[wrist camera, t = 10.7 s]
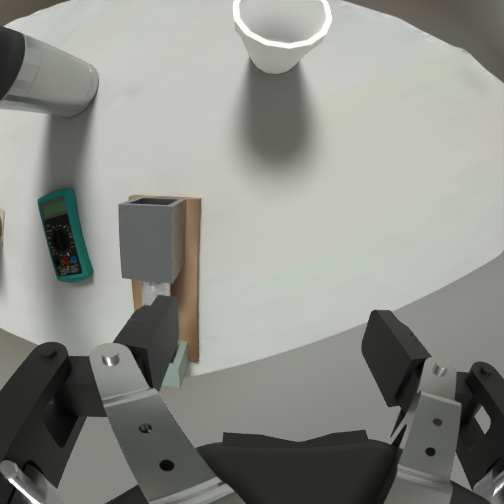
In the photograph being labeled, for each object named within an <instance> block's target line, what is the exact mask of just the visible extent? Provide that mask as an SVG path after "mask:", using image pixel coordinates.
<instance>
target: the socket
mask: <svg viewBox="0 0 504 504" xmlns="http://www.w3.org/2000/svg"><path fill="white" fill-rule="evenodd" d="M174 358H175V360H174V362H173V364H172V363H170V364H169V367H168V369H167V372H166V375H165V377H164V380H163V383H162V385H161V386H167V387H173V388H180V387H181V384H182V381H183V377H184V374H185V371H186V367H187V364H188V342H186V341H178V343H177V346H176V348H175V351H174Z"/></svg>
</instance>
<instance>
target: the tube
mask: <svg viewBox="0 0 504 504" xmlns="http://www.w3.org/2000/svg"><path fill="white" fill-rule="evenodd" d="M140 281H141V295H142V306H144V305H149V306H151V304H152V303H153V301H154V300H155V298H156V297H157V296H158V295H165V296H171V291H170V283H161V282H152V281H144V280H140ZM174 360H175V358H174V354H173V356H172V359H171V361H170V363H172V364H173V362H174Z"/></svg>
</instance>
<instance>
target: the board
mask: <svg viewBox="0 0 504 504" xmlns="http://www.w3.org/2000/svg"><path fill="white" fill-rule="evenodd" d="M138 197H154V198H177V199H186V223H185V265H184V266H183V268H182V270H181V271H180V273H179V274H178V276H177V277H176V279H175V280H174V282H173V284H170V291H171V296H174V297H177V301H178V323H179V337H178V341H186V342H188V361H194V362H197V361H198V358H199V340H198V278H199V237H200V213H201V198H187V197H167V196H139V195H132V196H129V201H130V200H132V199H135V198H138ZM132 289H133V300H134V309H135V311H136V310H137V309H139V308H141V307H142V295H141V281H140V280H135V279H132Z"/></svg>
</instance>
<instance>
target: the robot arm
mask: <svg viewBox="0 0 504 504" xmlns="http://www.w3.org/2000/svg"><path fill="white" fill-rule="evenodd" d="M97 87H98V73H97V71H96V69H95V68H94V66H92V65H91V64H89V63H87V62H85V61H83V60H81V59H79V58H77V57H75V56H73V55H71V54H69V53H67V52H64V51H62V50H60V49H58V48H56V47H53V46H51V45H49V44H47V43H44V42H42V41H40V40H37V39H35V38H32V37H30V36H27V35H25V34H22V33H20V32H17V31H15V30H12V29H9V28H5V27H2V26H0V109H8V110H19V111H28V112H36V113H44V114H51V115H57V116H64V117H72V116H75V115H77V114H79V113H81V112H82V111H83V110H84V109H85V108H86V107H87V106H88V105H89V104H90V103H91V101H92V99H93V98H94V96H95V93H96V91H97ZM178 337H179V323H178V301H177V297H174V296H165V295H158V296H157V297H156V298H155V300H154V301H153V303H152V304H151V306H149V305H144V306H142V307H141V308H139V309H137V310H136V311H135V312H134V313H133V315H132V316H131V317H130V319H129V320H128V322H127V323H126V325H125V326H124V327H123V329H122V330H121V331H120V333H119V334H118V336H117V337H116V338H115V340H114V341H113V343H107V344H102V345H100V346H98V347H96V348H95V349H94V350H93V351H92V352H91V354H90V356H69V355H68V352H67V349H66V347H65V346H64V345H62V344H60V343H57V342H47V343H43V344H41V345H39V346H37V347H36V348H35V349H34V350H33V351H32V352H31V353H30V355H29V356H28V357H27V358H26V359H25V361H24V362H23V363H22V364H21V365H20V367H19V368H18V369H17V370H16V372H15V373H14V374H13V375H12V377H11V378H10V379H9V381H8V382H7V383H6V384H5V386H4V387H3V388H2V390H1V391H0V504H64V500H63V497H62V496H61V494H60V493H59V491H58V490H57V488H58V485H59V482H60V480H61V477H62V474H63V472H64V469H65V466H66V464H67V462H68V459H69V457H70V454H71V452H72V450H73V447H74V445H75V443H76V440H77V438H78V436H79V433H80V431H81V429H82V427H83V424H84V422H85V420H86V418H87V416H89V417H92V416H93V417H108V419H109V422H110V424H111V427H112V429H113V432H114V434H115V437H116V439H117V441H118V444H119V446H120V448H121V450H122V453H123V455H124V457H125V459H126V461H127V463H128V465H129V468H130V469H131V471H132V474H133V476H134V477H135V479H136V481H137V483H138V485H136V486H135V487H133V488H131V489H130V490H128V491H126V492H125V493H123V494H121V495H119V496H118V497H116V498H114V499H113V500H111V501H109V502H107V503H106V504H504V379H503V378H502V376H501V375H500V374H499V373H498V372H497V370H496V369H495V368H494V367H492V366H491V365H490V364H488V363H485V362H476V363H474V364H473V365H472V367H471V369H470V371H469V373H466V372H457V371H456V368H455V367H454V365H453V364H452V363H451V362H449V361H448V360H446V359H444V358H440V357H432V356H431V355H430V354H429V353H428V351H427V350H426V349H425V347H424V346H423V345H422V344H421V342H420V341H418V339H417V337H416V336H415V335H414V334H413V332H412V331H411V330H410V329H409V328H408V327H407V326H406V325H404V324H403V323H401V322H400V321H399V320H398V319H397V318H396V317H395V316H394V314H393V313H392V312H391V311H390V310H373V311H372V312H371V314H370V317H369V321H368V324H367V327H366V331H365V334H364V337H363V340H362V347H361V348H362V354H363V357H364V358H365V360H366V362H367V364H368V366H369V368H370V371H371V373H372V374H373V377H374V379H375V380H376V383H377V385H378V387H379V389H380V391H381V393H382V395H383V397H384V400H385V401H386V403H387V406H388V407H392V406H400V407H401V409H400V410H399V412H398V414H397V416H396V419H395V421H394V424H393V427H392V429H391V432H390V434H389V436H388V438H387V441H386V443H385V442H381V441H377V440H371V439H368V437H367V434H366V431H365V430H359V431H351V432H340V433H332V434H329V435H325V436H322V437H318V438H314V439H311V440H307V441H302V442H294V441H288V440H284V439H278V438H274V437H269V436H265V435H257V434H256V435H255V434H239V433H226V432H224V433H223V442H219V443H212V444H207V445H204V446H200V447H197V448H195V447H194V446H193V445H192V443H191V442H190V440H189V439H188V438H187V436H186V435H185V433H184V432H183V430H182V429H181V427H180V426H179V425H178V423H177V422H176V420H175V418H174V417H173V415H172V414H171V412H170V411H169V409H168V407H167V406H166V404H165V403H164V401H163V399H162V398H161V396H160V395H159V391H160V388H161V385H162V383H163V380H164V377H165V375H166V372H167V369H168V367H169V364H170V361H171V359H172V356H173V354H174V351H175V348H176V346H177V343H178ZM49 403H50V404H49ZM481 406H483V407H484V409H485V411H486V412H487V414H488V415H489V417H490V419H491V425H490V428H489V430H488V431H487V433H486V434H484V433H483V431H482V429H481V428H480V426H479V424H478V422H477V421H476V419H475V417H474V416H475V415H476V414H477V412H478V411H479V409H480V408H481ZM46 408H47V409H46ZM455 452H456V453H457V456H458V458H459V460H460V462H461V465H462V467H463V469H464V472H465V474H466V477H467V479H468V481H469V484H470V486H471V489H472V491H473V492H472V491H470V490H468V489H466V488H464V487H462V486H461V485H459V484H457V483H455V482H453V481H451V480H450V476H451V472H452V467H453V462H454V457H455Z"/></svg>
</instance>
